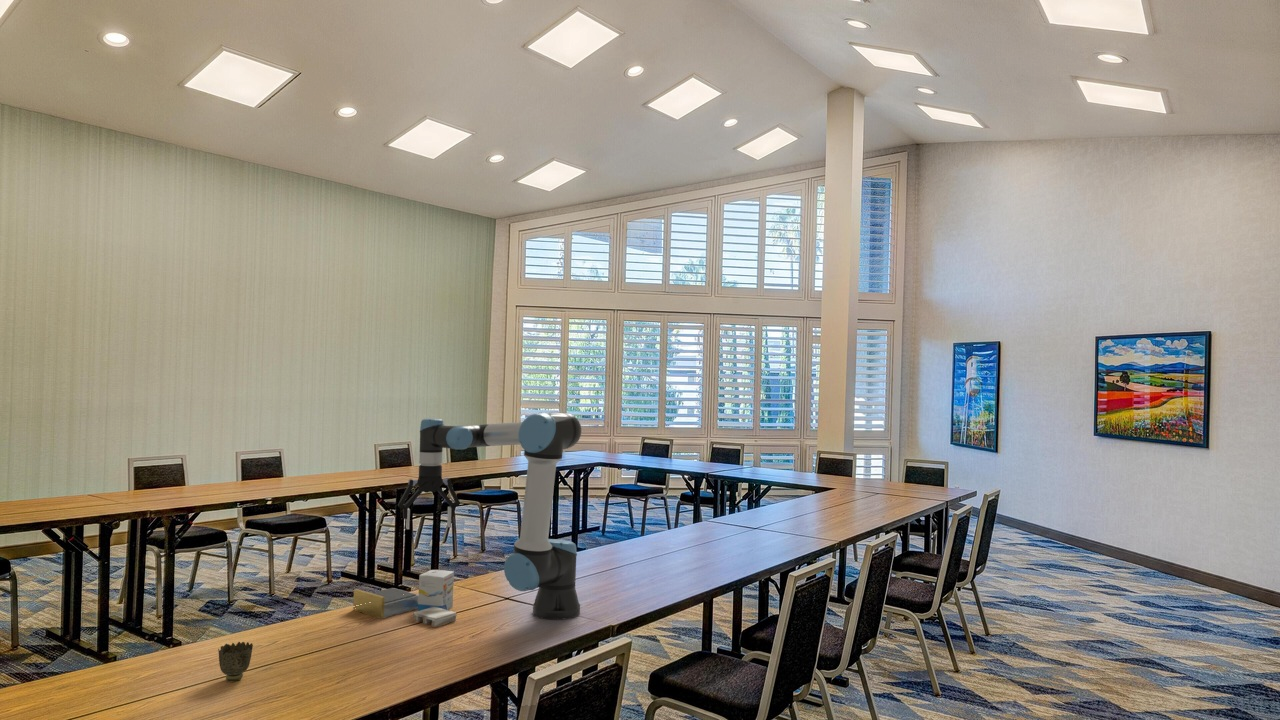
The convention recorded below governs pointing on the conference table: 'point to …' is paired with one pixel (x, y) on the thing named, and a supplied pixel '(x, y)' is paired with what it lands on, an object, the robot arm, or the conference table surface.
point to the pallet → (435, 616)
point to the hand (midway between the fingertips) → (428, 527)
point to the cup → (235, 660)
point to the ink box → (436, 589)
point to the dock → (385, 602)
